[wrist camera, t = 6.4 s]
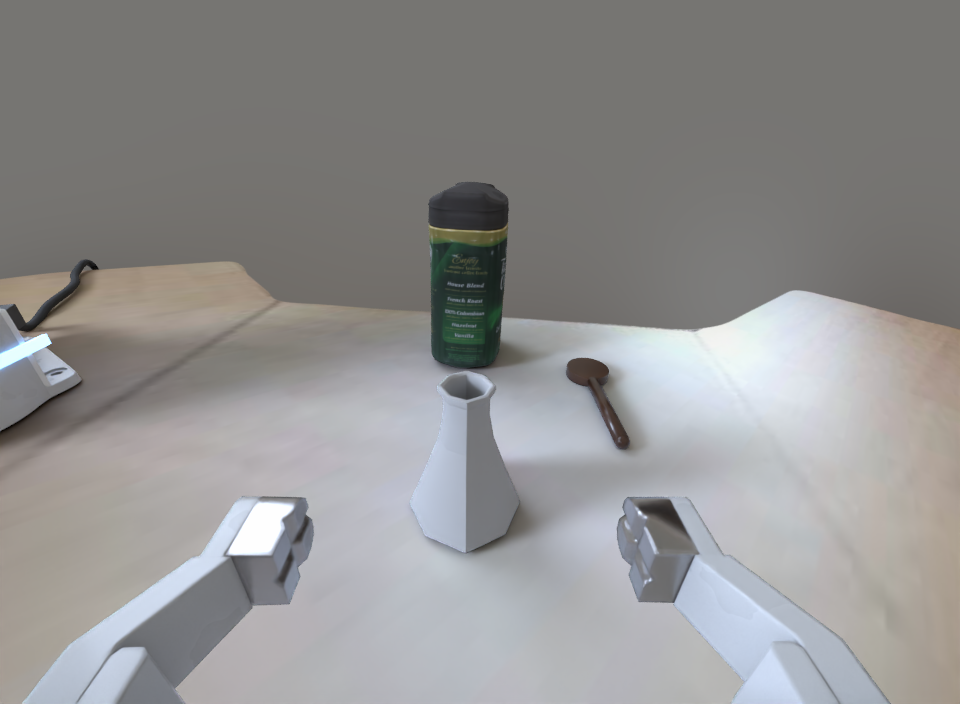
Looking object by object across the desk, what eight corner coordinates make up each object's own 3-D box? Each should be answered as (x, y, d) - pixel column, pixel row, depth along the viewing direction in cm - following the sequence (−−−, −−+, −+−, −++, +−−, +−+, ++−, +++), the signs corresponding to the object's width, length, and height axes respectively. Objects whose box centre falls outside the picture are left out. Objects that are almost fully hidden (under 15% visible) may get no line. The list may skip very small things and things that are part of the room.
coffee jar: (497, 374, 43) (508, 190, 34) (425, 368, 44) (417, 186, 35) (502, 335, 52) (512, 179, 43) (442, 330, 52) (440, 176, 43)
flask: (465, 576, 23) (468, 445, 18) (390, 506, 28) (377, 385, 23) (537, 504, 28) (554, 385, 23) (464, 453, 32) (465, 344, 27)
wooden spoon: (649, 452, 33) (652, 441, 32) (597, 451, 33) (599, 440, 32) (600, 365, 45) (602, 356, 45) (562, 365, 45) (563, 355, 45)
